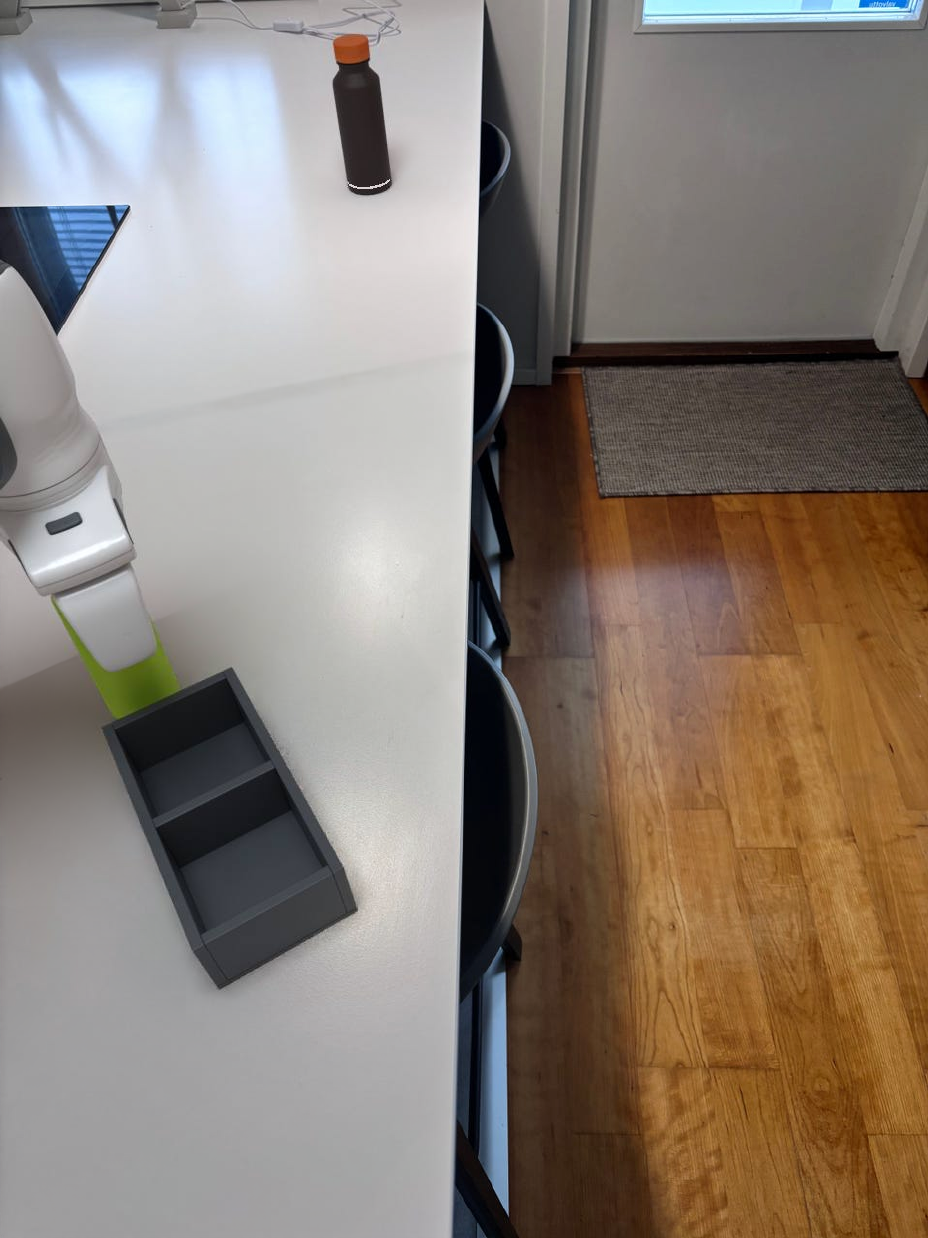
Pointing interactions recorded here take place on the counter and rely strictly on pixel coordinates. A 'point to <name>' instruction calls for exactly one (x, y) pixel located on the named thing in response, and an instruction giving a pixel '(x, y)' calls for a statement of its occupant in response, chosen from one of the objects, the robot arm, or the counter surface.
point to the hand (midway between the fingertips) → (117, 623)
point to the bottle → (360, 116)
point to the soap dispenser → (129, 677)
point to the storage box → (228, 827)
